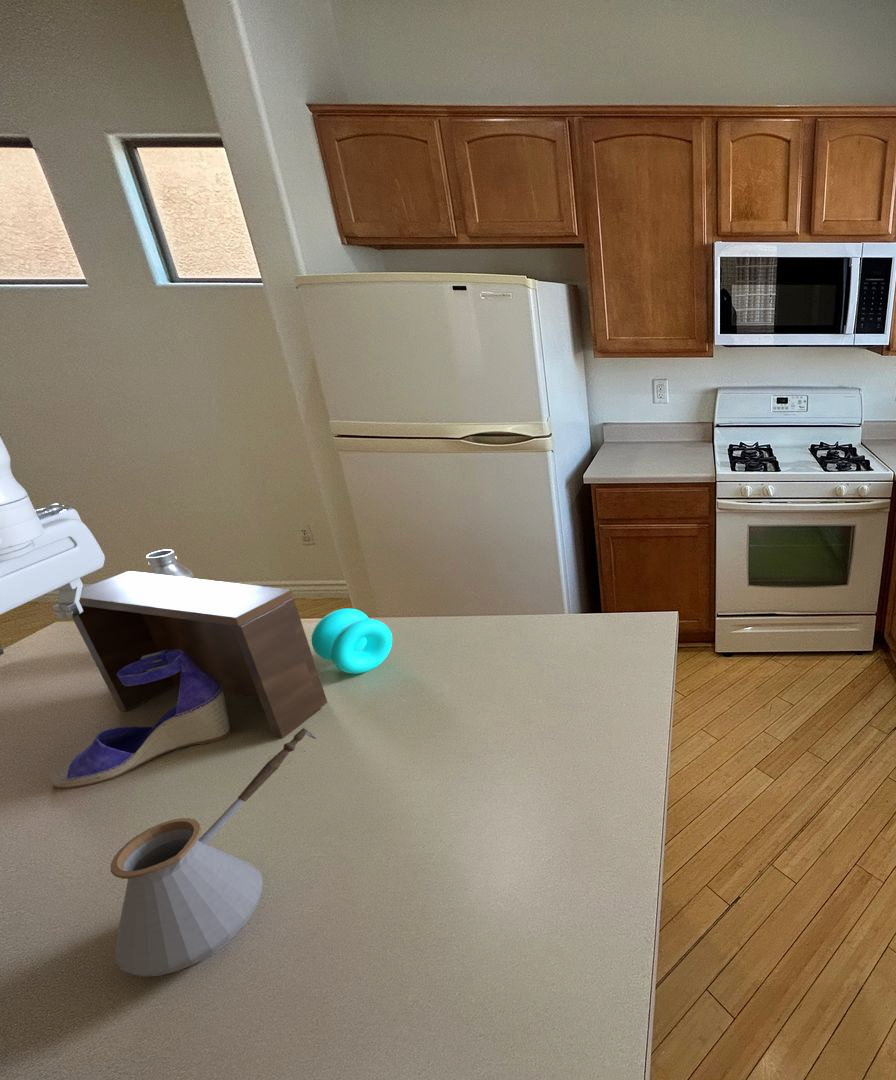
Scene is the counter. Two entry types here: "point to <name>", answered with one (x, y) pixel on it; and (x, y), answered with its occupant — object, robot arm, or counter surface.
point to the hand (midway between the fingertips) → (33, 635)
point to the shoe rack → (204, 640)
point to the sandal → (181, 726)
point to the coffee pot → (185, 890)
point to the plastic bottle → (167, 564)
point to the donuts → (352, 640)
